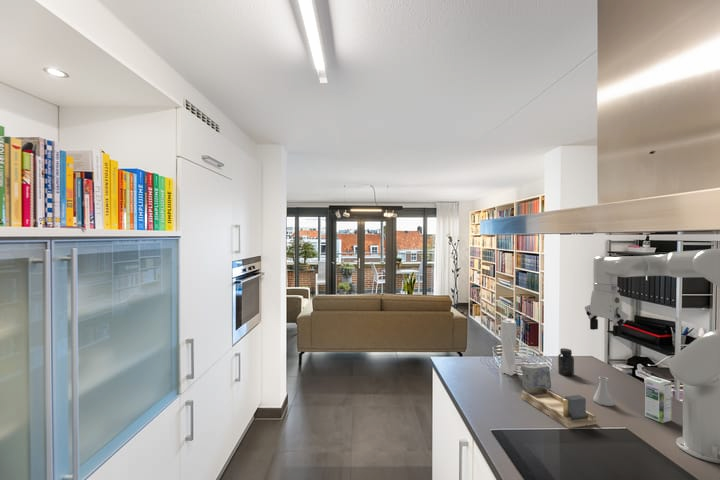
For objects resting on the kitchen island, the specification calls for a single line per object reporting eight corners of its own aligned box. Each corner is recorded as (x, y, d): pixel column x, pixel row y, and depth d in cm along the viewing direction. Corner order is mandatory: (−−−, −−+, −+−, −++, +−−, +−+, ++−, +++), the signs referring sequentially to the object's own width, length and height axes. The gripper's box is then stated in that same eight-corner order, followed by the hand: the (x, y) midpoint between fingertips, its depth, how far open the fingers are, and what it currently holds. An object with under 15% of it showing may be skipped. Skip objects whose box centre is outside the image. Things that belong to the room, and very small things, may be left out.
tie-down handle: (587, 418, 125) (587, 398, 126) (569, 420, 124) (569, 400, 124) (580, 414, 128) (580, 394, 128) (562, 416, 127) (562, 396, 127)
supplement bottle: (560, 370, 177) (560, 346, 177) (576, 374, 172) (576, 349, 172) (556, 373, 172) (556, 349, 172) (571, 377, 167) (571, 352, 167)
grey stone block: (537, 383, 160) (537, 361, 160) (552, 391, 152) (552, 367, 152) (519, 385, 157) (519, 362, 158) (533, 393, 149) (533, 369, 150)
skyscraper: (496, 372, 174) (496, 316, 174) (503, 368, 179) (503, 314, 179) (512, 376, 168) (512, 318, 168) (519, 372, 173) (519, 316, 173)
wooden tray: (596, 424, 124) (596, 398, 125) (568, 428, 122) (568, 402, 122) (545, 395, 148) (545, 374, 148) (521, 398, 145) (521, 376, 145)
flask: (618, 407, 137) (618, 382, 137) (597, 405, 138) (597, 380, 139) (608, 399, 144) (609, 375, 144) (589, 397, 146) (589, 373, 146)
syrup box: (644, 416, 130) (644, 377, 130) (654, 413, 132) (654, 375, 132) (662, 423, 125) (662, 383, 125) (672, 420, 127) (672, 380, 127)
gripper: (635, 290, 127) (635, 337, 127) (593, 285, 144) (593, 326, 144) (618, 291, 125) (618, 339, 125) (578, 285, 142) (578, 327, 142)
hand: (605, 332), depth 134 cm, fingers open, 9 cm apart
